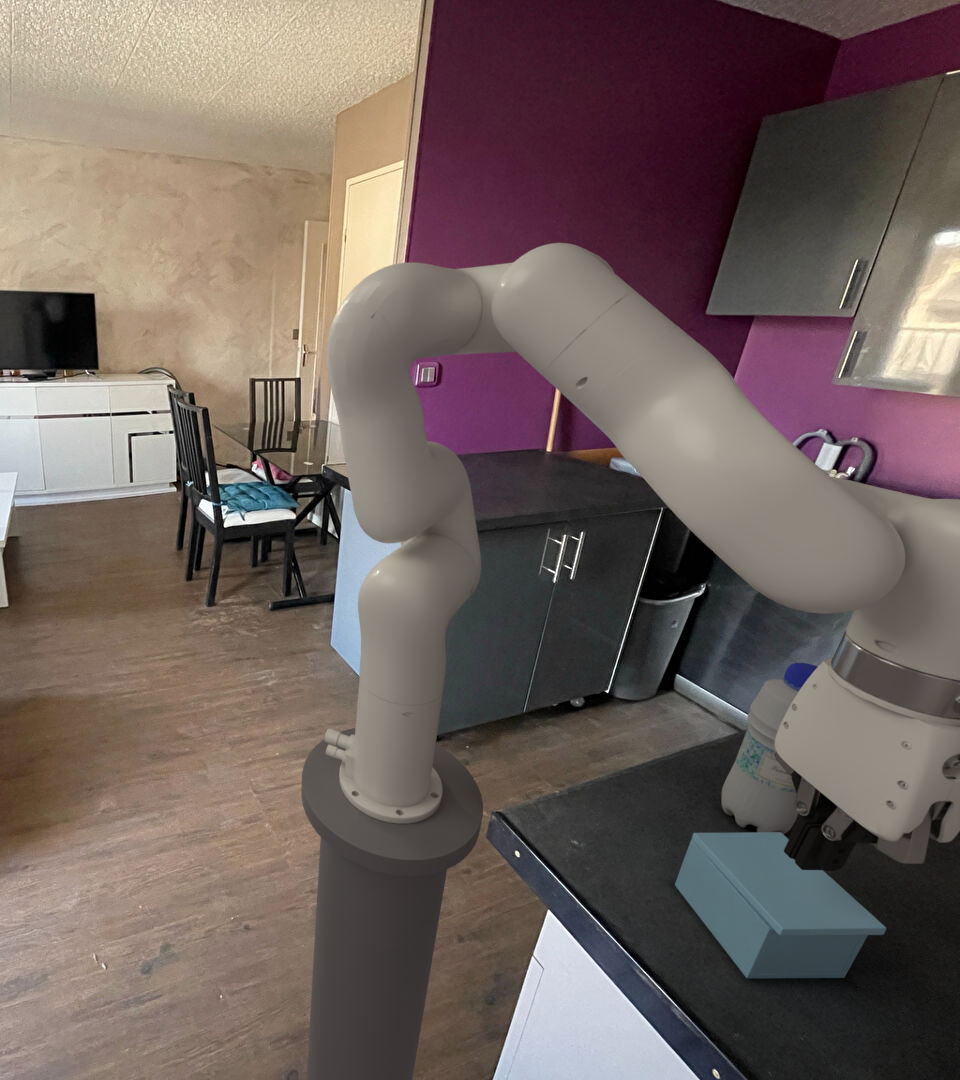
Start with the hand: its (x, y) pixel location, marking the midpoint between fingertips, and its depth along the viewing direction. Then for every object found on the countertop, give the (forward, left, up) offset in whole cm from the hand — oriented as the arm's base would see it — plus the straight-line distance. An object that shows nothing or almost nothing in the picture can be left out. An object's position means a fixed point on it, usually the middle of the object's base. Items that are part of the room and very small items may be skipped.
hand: (809, 861), depth 48 cm
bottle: (+1, +18, -11) cm, 21 cm away
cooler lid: (-1, +2, -5) cm, 5 cm away
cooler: (-1, +2, -11) cm, 11 cm away
